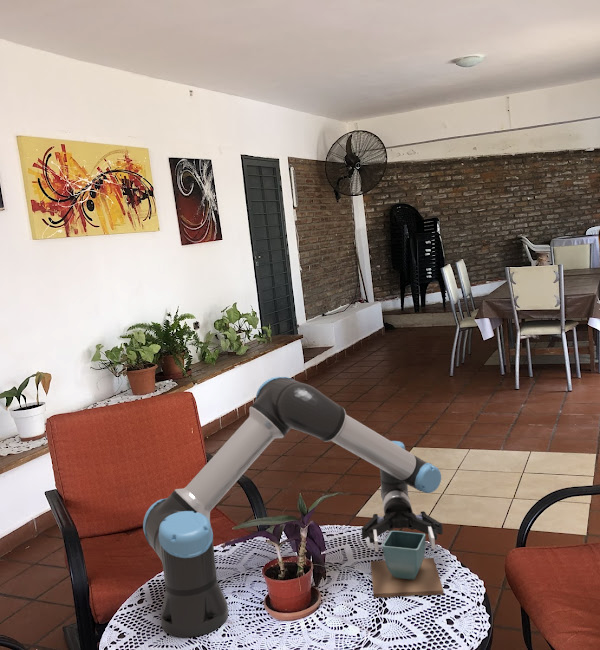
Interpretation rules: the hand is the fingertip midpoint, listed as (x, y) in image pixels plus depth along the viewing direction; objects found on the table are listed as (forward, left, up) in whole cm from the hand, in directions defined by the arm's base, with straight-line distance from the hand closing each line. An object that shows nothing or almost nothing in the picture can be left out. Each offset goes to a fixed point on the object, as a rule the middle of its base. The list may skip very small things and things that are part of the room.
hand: (404, 544), depth 162 cm
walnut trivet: (0, 0, -9) cm, 9 cm away
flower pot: (0, 0, -8) cm, 8 cm away
